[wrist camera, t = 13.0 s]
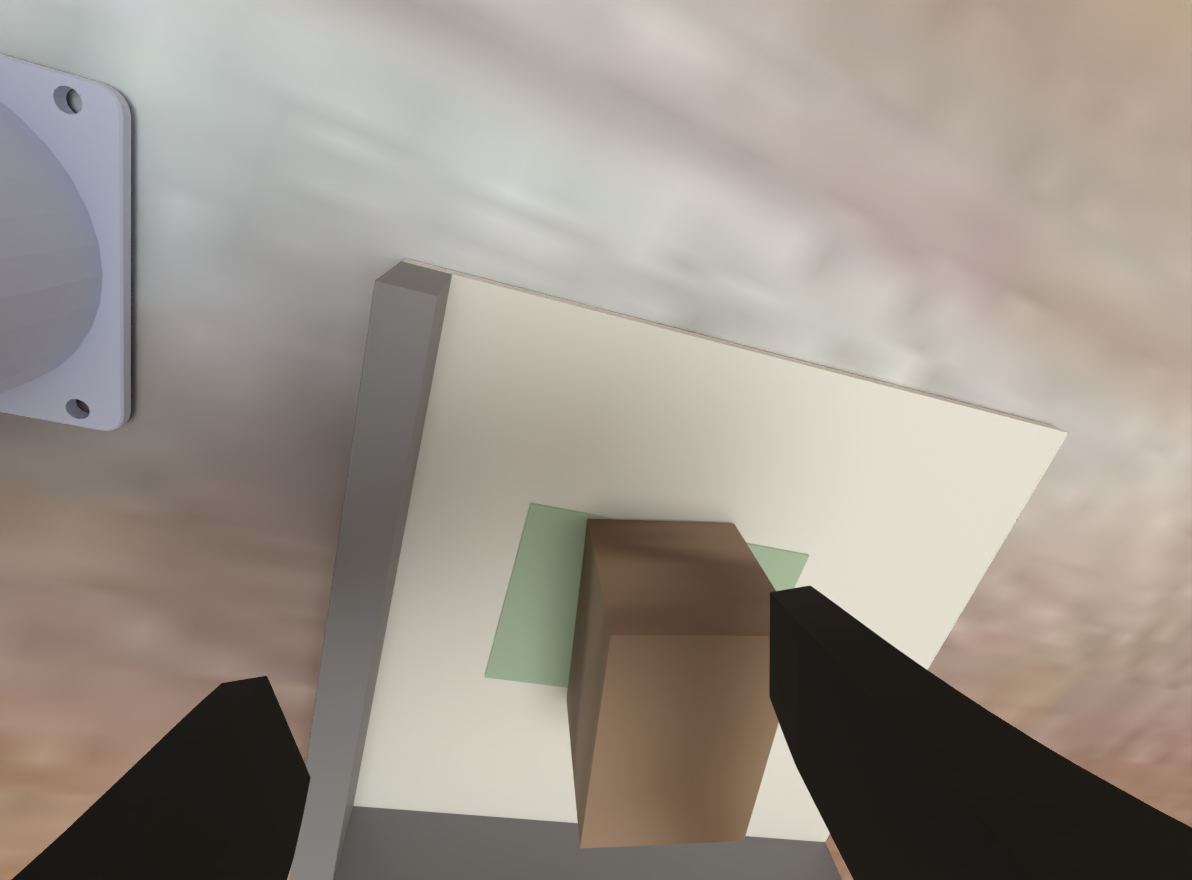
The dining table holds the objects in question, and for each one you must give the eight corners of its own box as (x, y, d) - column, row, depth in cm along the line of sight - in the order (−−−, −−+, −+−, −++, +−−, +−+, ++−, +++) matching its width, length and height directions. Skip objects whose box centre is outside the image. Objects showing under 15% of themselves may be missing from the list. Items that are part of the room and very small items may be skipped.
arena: (318, 810, 22) (284, 920, 19) (405, 258, 15) (375, 280, 12) (807, 847, 26) (848, 942, 23) (1052, 425, 19) (1161, 476, 16)
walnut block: (566, 699, 21) (580, 848, 16) (587, 518, 18) (610, 635, 13) (695, 698, 21) (743, 840, 17) (734, 523, 19) (804, 636, 14)
